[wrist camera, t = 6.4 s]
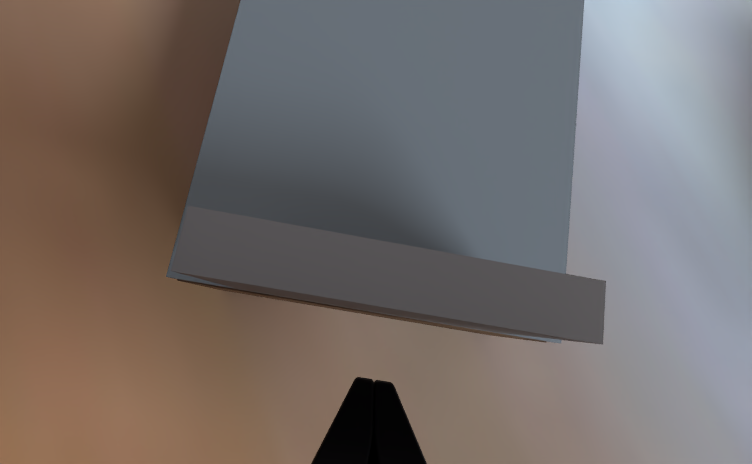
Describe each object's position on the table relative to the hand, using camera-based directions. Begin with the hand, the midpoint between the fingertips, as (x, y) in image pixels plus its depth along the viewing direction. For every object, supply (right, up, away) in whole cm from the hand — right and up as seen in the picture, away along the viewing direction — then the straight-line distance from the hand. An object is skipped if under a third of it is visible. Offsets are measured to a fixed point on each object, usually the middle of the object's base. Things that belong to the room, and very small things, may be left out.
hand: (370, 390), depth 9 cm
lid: (+1, +8, +5) cm, 9 cm away
